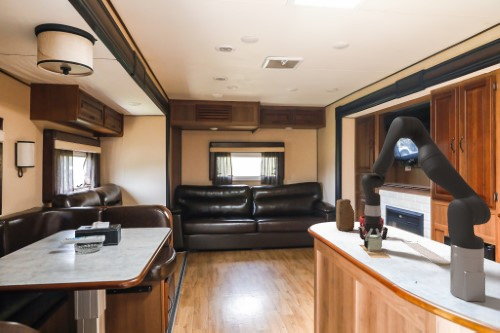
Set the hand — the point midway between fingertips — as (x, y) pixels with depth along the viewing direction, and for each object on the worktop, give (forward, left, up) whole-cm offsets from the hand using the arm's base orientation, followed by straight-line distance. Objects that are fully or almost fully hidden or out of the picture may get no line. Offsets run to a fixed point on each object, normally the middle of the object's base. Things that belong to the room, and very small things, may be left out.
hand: (372, 247), depth 149 cm
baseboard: (-1, -23, -3) cm, 24 cm away
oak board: (-2, 0, -2) cm, 3 cm away
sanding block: (0, 0, -1) cm, 1 cm away
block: (+46, +3, -3) cm, 46 cm away
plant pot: (+28, -8, -3) cm, 29 cm away
